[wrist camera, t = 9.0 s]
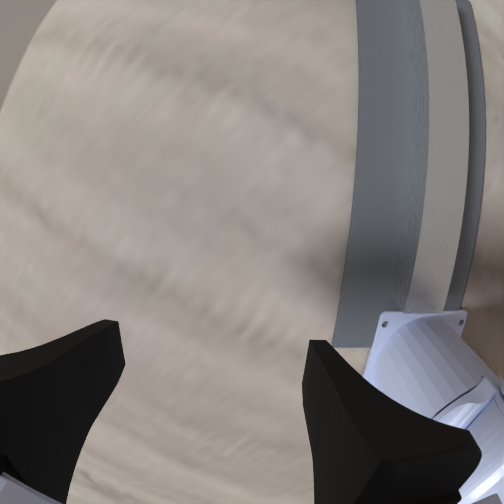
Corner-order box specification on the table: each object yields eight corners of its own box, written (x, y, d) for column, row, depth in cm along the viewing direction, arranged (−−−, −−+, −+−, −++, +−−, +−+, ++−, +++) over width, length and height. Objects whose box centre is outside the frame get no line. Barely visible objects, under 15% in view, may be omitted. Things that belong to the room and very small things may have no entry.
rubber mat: (446, 341, 21) (448, 343, 20) (331, 344, 21) (332, 347, 21) (467, 2, 13) (469, 1, 13) (352, -36, 14) (353, -39, 13)
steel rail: (426, 298, 19) (442, 313, 17) (390, 297, 19) (403, 313, 17) (438, 4, 13) (453, -9, 11) (402, -8, 14) (415, -24, 11)
